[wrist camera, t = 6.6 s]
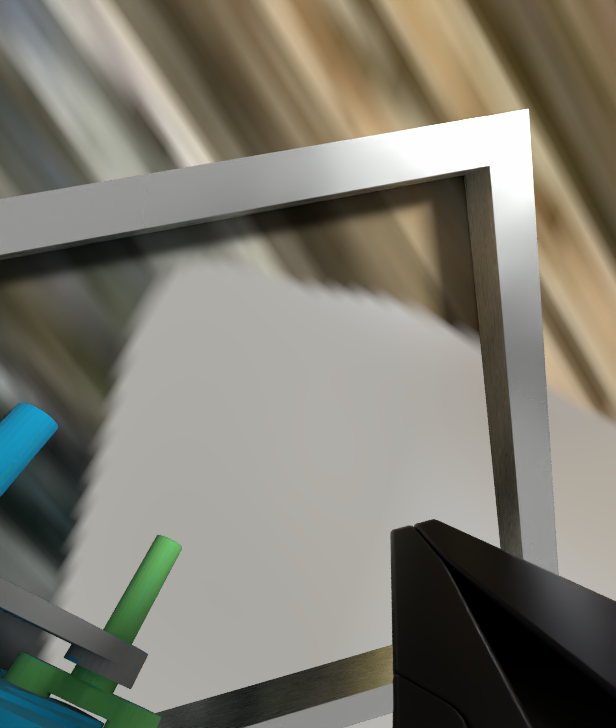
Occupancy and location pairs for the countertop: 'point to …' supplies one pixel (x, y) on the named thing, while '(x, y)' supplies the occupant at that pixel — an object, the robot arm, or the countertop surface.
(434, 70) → the countertop surface
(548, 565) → the gray rectangular frame
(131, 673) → the gear
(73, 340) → the countertop surface
